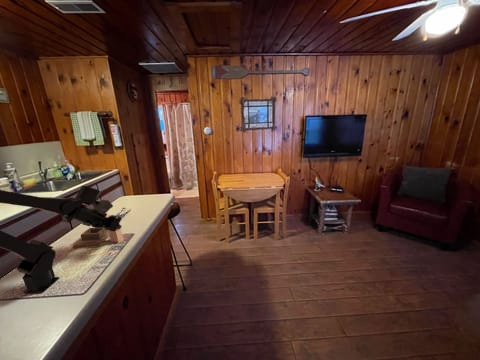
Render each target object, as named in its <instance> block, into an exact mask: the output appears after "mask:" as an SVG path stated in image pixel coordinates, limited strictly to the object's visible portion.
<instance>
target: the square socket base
mask: <svg viewBox="0 0 480 360" xmlns="http://www.w3.org/2000/svg"><path fill="white" fill-rule="evenodd" d="M108 238H110V235H109V231H108V230H106V229H105V228H104V227H100V228H95V227H89V228H87V229H86V230H85V231H83V232H82V233H81V234H80V239H79V240H78V241H76V242H75V243H74V244H73V245H72V249H80V248H91V247H92V248H93V247H99V246H101V245H102V244H103V243H104V242H105V241H106V240H107V239H108Z"/></svg>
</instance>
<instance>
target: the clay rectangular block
mask: <svg viewBox="0 0 480 360" xmlns="http://www.w3.org/2000/svg"><path fill="white" fill-rule="evenodd" d="M111 215H112V214H107V216H106V217H107V218H108V217H109V216H111ZM108 231H109V230H108ZM109 235H110V236H109V238H110V241H111V242H112V243H117V244H120V243H122V242H123V241H124V237H123V233H122V228H121V229H116V231H114V232H113V231H109Z"/></svg>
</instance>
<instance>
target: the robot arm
mask: <svg viewBox="0 0 480 360" xmlns="http://www.w3.org/2000/svg"><path fill="white" fill-rule="evenodd" d="M100 194H101V191H100V190H99V189H98V188H94V187H90V186H87V185H81V186H80V189H79V191H78V192H77V194H76V196H75V197H74V196H73V197H66V198H64V197H58V196H57V197H53V196H49V197H48V196H36V195H32V194H26V193H19V192H14V191H9V190H8V191H7V190H2V189H0V204H6V205H13V206H20V207H28V208H35V209H38V210H41V211H44V212H48V213H52V214H54V215H55V214H56V215H61V217H62V222H63V223H66V224H71V222H72V221H73V220H74V221H78V222H80V223H81V225H83V226H86V227H91V228H100V227H104V228H105V229H106V230H109V231H113V232H114V231H116V229H121V230H122V227H123V226H122V225H121V224H120V223H121V222H122V219H123V218H121V217H119V216H116V214H115V215H114V214H110V215H111V216H109V217H108V218H107V217H106V216H108V211H110V210H111V209H112V208H113V207H114V205H113V204H112V202H110V200H107V199H100V200H97V199H98V197H99V196H100ZM90 205H92V206H93V208H90ZM87 206H88V207H87ZM0 248H1V249H3V250H5V251H6V250H7V251H9V252H12V253H13V254H14V255H15V256H17V257H18V258H19V259H21V261H20V262H19V263H18V265H17V266H16V267H15V270H16V271H18V272H19V273H22V274H24V275H23V276H22V280H23V282H24V285H25V287H26V288H25V289H24V291H23V294H42V293H43V292H45V291H46V290H47V289H49V288H50V287H51V286H53V284H55V283H56V282H57V281H58V280H59V279H60V277H59V276H56V274H55V271H54V269H53V268H54V267H53V266H54V260H55V258H56V253H57V252H56V250H55V249H53V248H54V246H52V245H49V244H47V243H45V242H43V241H40V240H38V239H35V238H31V240H30V241H29V242H27V241H25V240H23V239H21V238H18V237H16V236H13V235H11V234H10V233H8V232H5V231H2V230H0Z"/></svg>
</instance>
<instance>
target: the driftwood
mask: <svg viewBox="0 0 480 360" xmlns="http://www.w3.org/2000/svg"><path fill="white" fill-rule="evenodd" d="M123 209H125V210H127V208H126V207H122V209H121V210H120V211H121V212H120V211H119V212H118V213H117V214H115V216H119V217H121V218H122V219H123V218H124V217H125V216H126V214H128V213H129V212H130V211H131V209H129V210H127V211H126V212H124V211H123ZM122 211H123V213H122ZM120 213H121V215H120Z"/></svg>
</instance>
